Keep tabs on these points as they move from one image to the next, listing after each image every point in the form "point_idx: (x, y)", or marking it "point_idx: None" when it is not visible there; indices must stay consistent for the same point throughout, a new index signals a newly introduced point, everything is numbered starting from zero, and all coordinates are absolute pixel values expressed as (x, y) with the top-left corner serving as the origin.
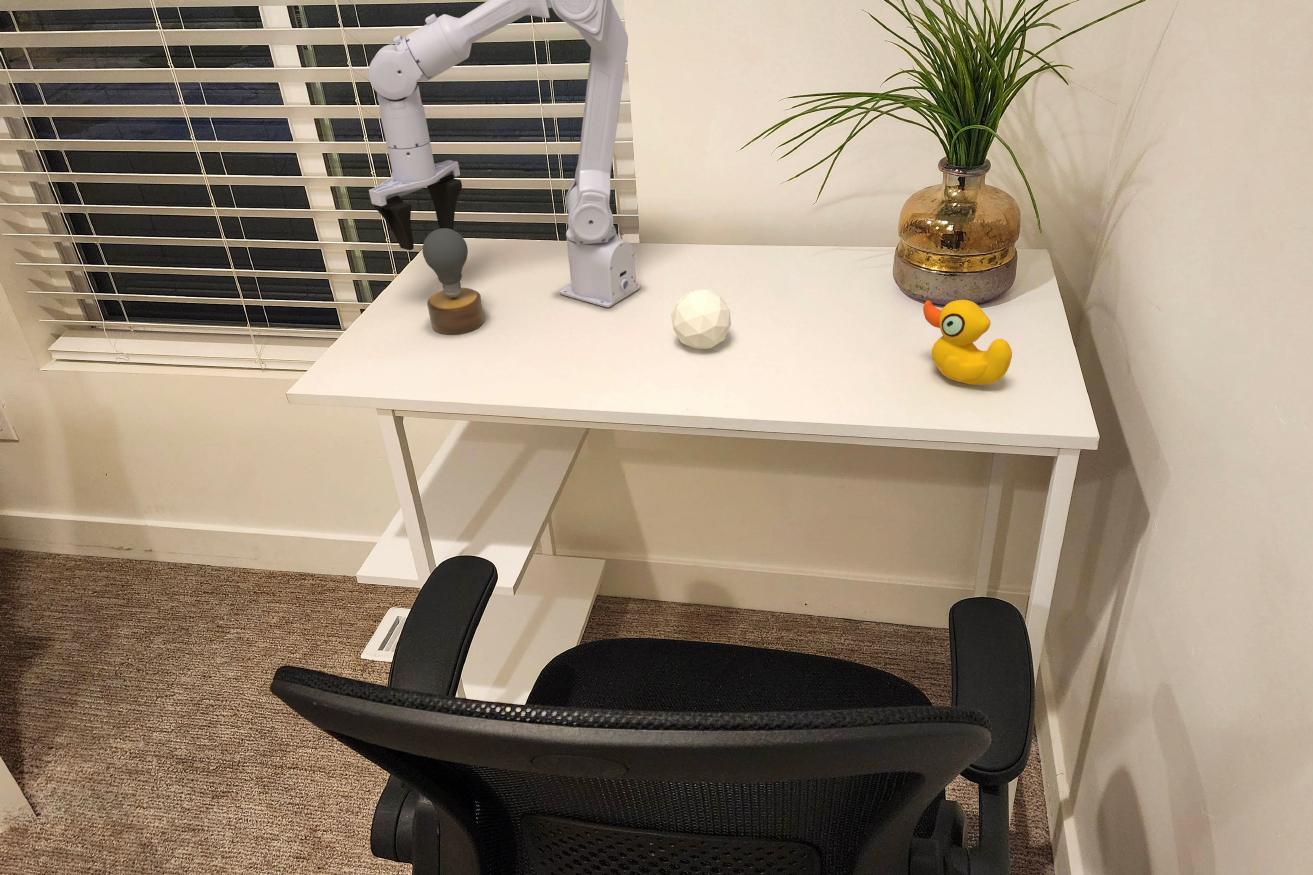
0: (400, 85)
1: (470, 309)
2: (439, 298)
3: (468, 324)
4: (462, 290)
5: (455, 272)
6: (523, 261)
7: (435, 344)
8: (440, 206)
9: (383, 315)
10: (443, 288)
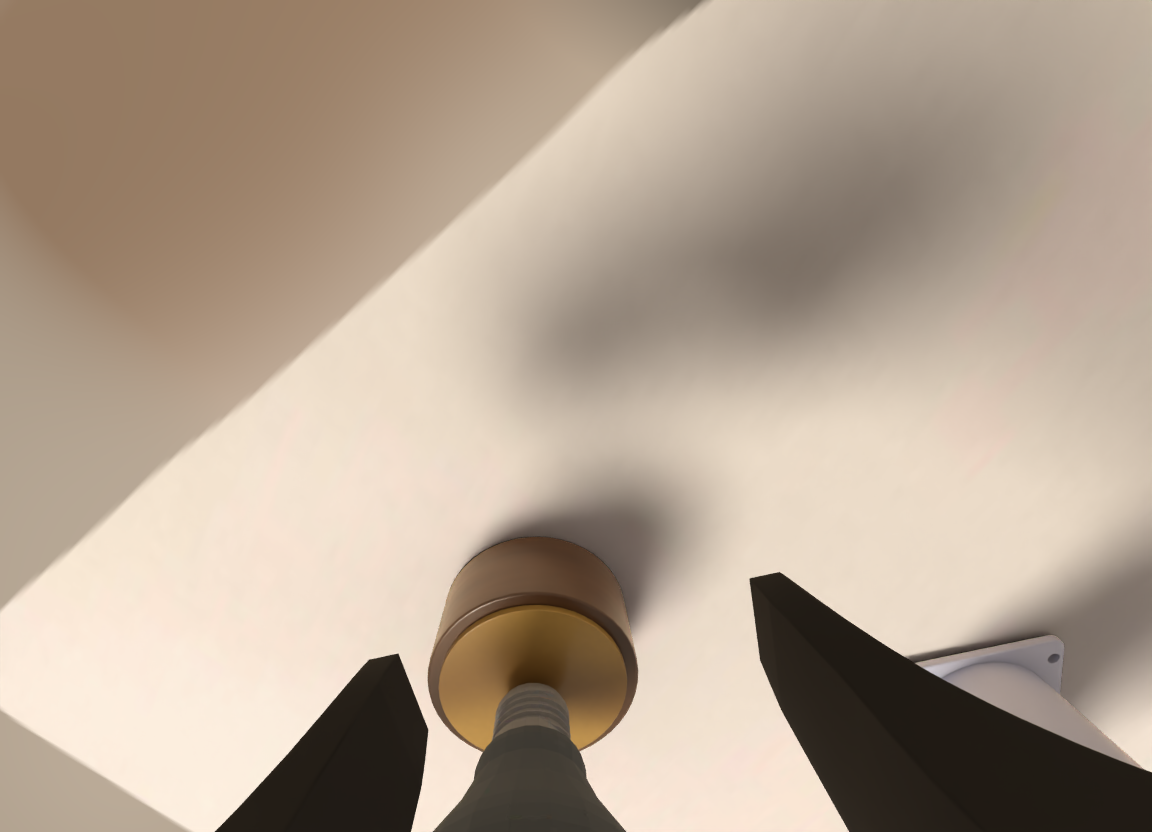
0: None
1: None
2: (486, 664)
3: None
4: (594, 664)
5: None
6: (1049, 344)
7: None
8: (864, 773)
9: (352, 372)
10: (493, 733)
